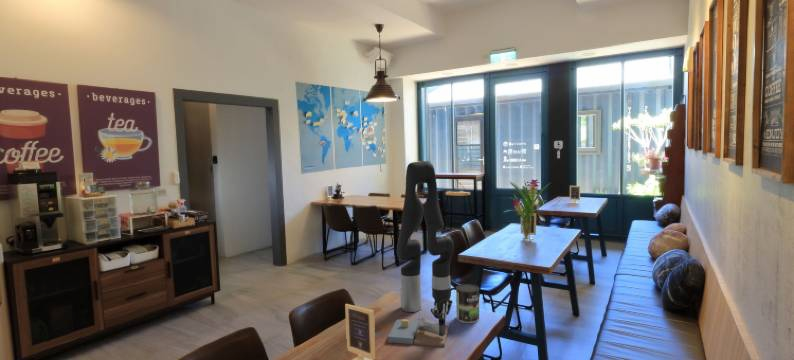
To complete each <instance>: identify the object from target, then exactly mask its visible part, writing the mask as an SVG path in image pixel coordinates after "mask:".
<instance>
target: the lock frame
mask: <svg viewBox="0 0 794 360" xmlns="http://www.w3.org/2000/svg"><path fill="white" fill-rule="evenodd" d="M448 332H449V325H446V324H445V335H444V336H443V337H442V336H439V335H437V334H434V333H430V332H427V331H424V330H419V329H418V320H412V319H411V320H410V319H404V318H402V319H396V320H395V322H394V324H393V326H392V327H391V330H390V332H389V334H388V336H387V342H388V343H391V344H394V343H395V344H406V345H413V344H414V345H416V346H417V345H418V346H432V347H433V346H434V347H444V348H445V346H446V342H447V337H448Z"/></svg>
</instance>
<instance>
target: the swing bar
mask: <svg viewBox="0 0 794 360" xmlns="http://www.w3.org/2000/svg"><path fill="white" fill-rule="evenodd" d="M417 321H418V329H419V330H424V331H427V332H430V333H434V334H437V335H439V336H442V337H443V336H444V335H445V325H446V323H445V324H443V323H442V324H441V323H439V321H438V322H437V321H433V320H430V319H426V318H425V317H419V318H418V319H417Z"/></svg>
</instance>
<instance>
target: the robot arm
mask: <svg viewBox="0 0 794 360" xmlns="http://www.w3.org/2000/svg"><path fill="white" fill-rule="evenodd" d="M405 175H406V176H405V190H404V191H405V193H404V200H403V201H404V202H403V206H402V207H403V208H402V214H401V224H400V225H401V226H400V230H399V235H398V239H397V244H396V256H397V258H398V260H400V261H409V262H408V263H407V264H405V265H403V266H401V268H400V289H399V291H400V307H401V310H402V311H404V312H407V313H416V312H419V311H421V310H422V294H421V293H422V289H421V285H422V282H421V268H422V267H421V266H422V265H421V261H422V260H421V258H422V250H421V249H422V247H421V243H420V241H419V239H417V238H416V239H410V238H411V237H412V235H413V234H414V232H415V231H416V230H417V229H418V228H420V225H421V224H422V222H423V219H424V222H425V226H426V227H425V228H426V249H427V252H428V253H429V254H430V255H431V256H439V257H438V258H436V259H434V260H433V261H432V263H431V271H432V273H431V275H432V277H431V297H432V298H433V300H434V302H433V308H430V313H431V315H433V317H434V318H435V319H437V320H438V323H441V324H442V323H443V324H445V325H446V319H447V316H448V315H449V313H450V311H451V308H452V305H453V300H451V299H450V298H451V297H452V289H451V287H452V285H451V283H452V282H451V270H450V269H451V267H450V266H451V261H452V257H453V253H454V247H455V245H454V240H453V239H452V237H451V236H449V235H442V236H437V233H438V232H440V231H443V230H444V228H445V224H444V223H445V222H444V220H443V216H442V212H441V208H440V203H439V196H438V184H437V178H436V177H437V176H436V171H435V168H434V165H433V163H432V162H431V161H429V160H424V161H416V162H415V161H413V162H410V163H408V165H407V167H406V172H405ZM420 184H426V186H427V195H426V199H425V202H424V204H423V202H422V201H421V199H420V197H419V196H418V194H417V189H416V188H417V185H420ZM423 217H424V218H423Z"/></svg>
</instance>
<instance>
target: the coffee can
mask: <svg viewBox="0 0 794 360" xmlns="http://www.w3.org/2000/svg"><path fill="white" fill-rule="evenodd" d="M455 293H456V295H455V296H456V297H455V300H456V306H455V307H456V308H455V309H456V312H455V313H456V316H455V317H456V320H457V321H458V322H459V323H460V322H461V323H462V324H463V323H464V324H475V323H477V322H479V321H480V287H479V286H478V285H476V284H471V283H470V284H469V283H463V284H459V285H456V286H455Z"/></svg>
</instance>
